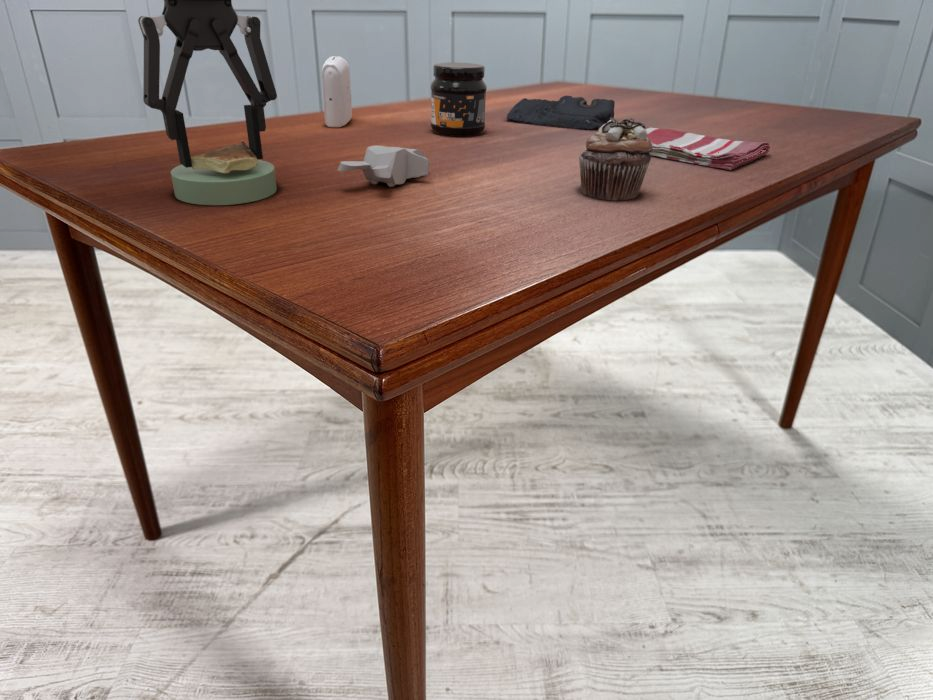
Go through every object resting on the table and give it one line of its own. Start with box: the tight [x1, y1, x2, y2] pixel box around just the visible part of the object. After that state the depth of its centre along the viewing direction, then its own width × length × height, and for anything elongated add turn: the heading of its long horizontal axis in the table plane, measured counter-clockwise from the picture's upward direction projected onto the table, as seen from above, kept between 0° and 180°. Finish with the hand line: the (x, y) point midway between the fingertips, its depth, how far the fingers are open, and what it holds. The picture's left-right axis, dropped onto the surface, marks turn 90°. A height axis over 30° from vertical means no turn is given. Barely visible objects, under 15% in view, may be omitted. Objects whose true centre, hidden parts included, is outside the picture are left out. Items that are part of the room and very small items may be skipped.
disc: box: [170, 159, 278, 206], centre depth 89 cm, size 13×13×3 cm
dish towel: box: [645, 127, 771, 171], centre depth 118 cm, size 17×23×3 cm
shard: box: [190, 141, 259, 173], centre depth 88 cm, size 11×8×2 cm
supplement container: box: [430, 62, 488, 137], centre depth 126 cm, size 10×10×12 cm
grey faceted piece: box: [337, 144, 430, 188], centre depth 94 cm, size 10×5×15 cm
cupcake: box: [578, 117, 652, 201], centre depth 91 cm, size 10×10×10 cm
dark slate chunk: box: [506, 95, 616, 131], centre depth 142 cm, size 15×22×5 cm
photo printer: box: [320, 55, 353, 128], centre depth 131 cm, size 10×4×12 cm, turn 178°
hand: (222, 160), depth 87 cm, fingers closed on shard, 8 cm apart
